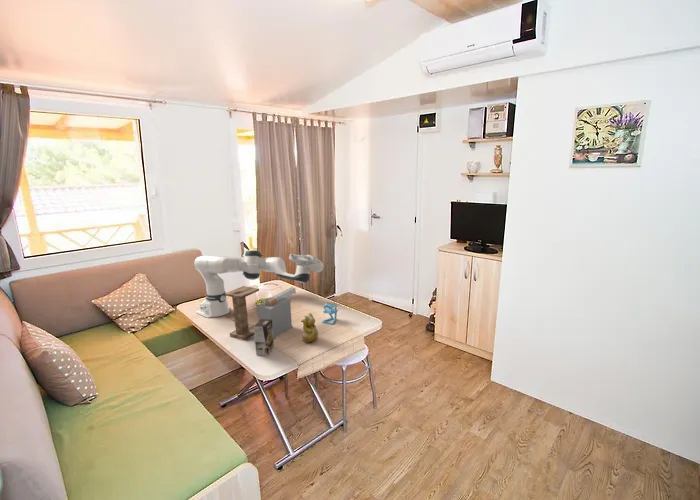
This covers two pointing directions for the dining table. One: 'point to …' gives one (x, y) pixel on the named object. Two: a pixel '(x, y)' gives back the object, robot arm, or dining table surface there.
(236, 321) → the walnut shelf
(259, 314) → the block
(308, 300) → the dining table surface
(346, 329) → the dining table surface
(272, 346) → the coffee box
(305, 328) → the decorative figurine
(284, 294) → the light slender bar
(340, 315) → the dining table surface
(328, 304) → the blue strut sculpture
